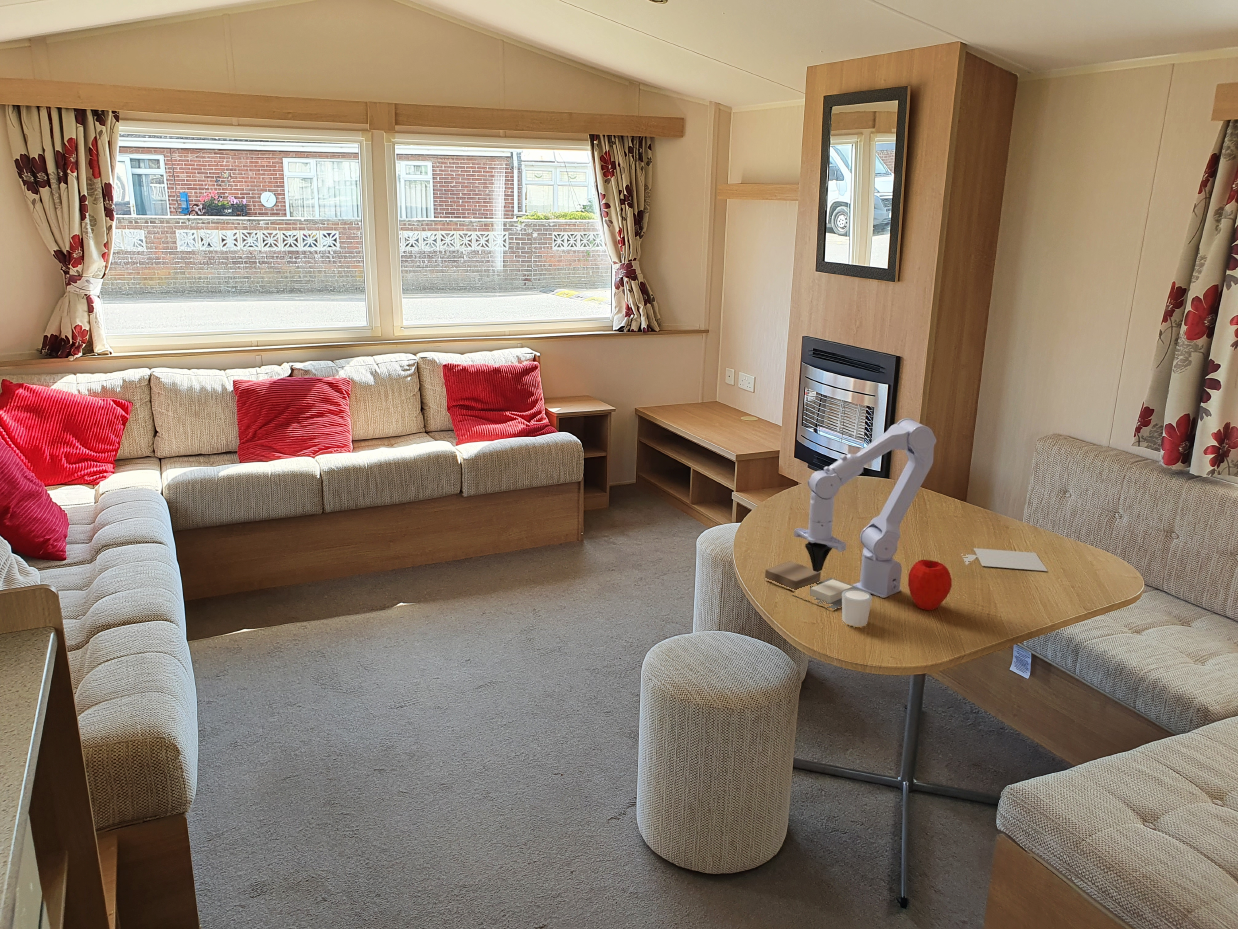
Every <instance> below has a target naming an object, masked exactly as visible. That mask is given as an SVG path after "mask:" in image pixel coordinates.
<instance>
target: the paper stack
mask: <svg viewBox="0 0 1238 929" xmlns="http://www.w3.org/2000/svg"><path fill="white" fill-rule="evenodd" d="M973 550H974V552H975V554H968V555H967V553H965V554H966V556H962V555H963V554H964V553H961V554H960V555H961V556H962V558H963V557H968V558H963V561H964V564H965V565H966V566H967V565H968V564H970V563H971V562H973V560H975V559H978V560H979V563H980V564H981V566H983V567H993V568H1006V569H1017V570H1029V571H1039V572H1040V571H1042V572H1048V569H1047V568H1046V566H1045V564H1043V562H1042V561H1041V559H1040V558H1039V556H1038V555H1037V553H1036V552H1026V551H1017V550H1016V551H1014V550H1003V549H992V548H991V549H990V548H976V547H973ZM976 557H977V558H976ZM965 561H966V562H965ZM968 561H971V562H968Z"/></svg>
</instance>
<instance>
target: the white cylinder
mask: <svg viewBox="0 0 1238 929" xmlns="http://www.w3.org/2000/svg"><path fill="white" fill-rule="evenodd" d="M872 600H873V594H872V595H871V594H869V593H868V592H865V591H862V590H854V589H851V590H846V591H843V592H842V608H841V618H842V619H841V621H842V620H843V621H844V622H845V623H846V624H849V625H853V626H864V625H866V624H867V625H868V621H869V620H868V619H869V617H870V616H869V615H870V611H871V605H872ZM843 621H842V622H843ZM867 625H866V626H867Z"/></svg>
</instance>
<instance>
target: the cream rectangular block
mask: <svg viewBox="0 0 1238 929" xmlns="http://www.w3.org/2000/svg"><path fill="white" fill-rule="evenodd" d="M833 579H834V578H833ZM833 579H832V580H830V581H827V582H825V583H822V584H820V585H817V586H814V587H812V588H810V596H813V597H816V598H818V599H820V600H823V601H825V602H828V603H831V602H834V601H836V600H839V599H841V598H842V592H843V591H846V590H851V589H852V586H853V585H852V586H850V585H851V584H849V585H847V584H848V583H847V584H844V583H845V582H844V583H841V582H842V581H841V582H839V581H840V580H838V581H836V580H837V579H836V580H833Z"/></svg>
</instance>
